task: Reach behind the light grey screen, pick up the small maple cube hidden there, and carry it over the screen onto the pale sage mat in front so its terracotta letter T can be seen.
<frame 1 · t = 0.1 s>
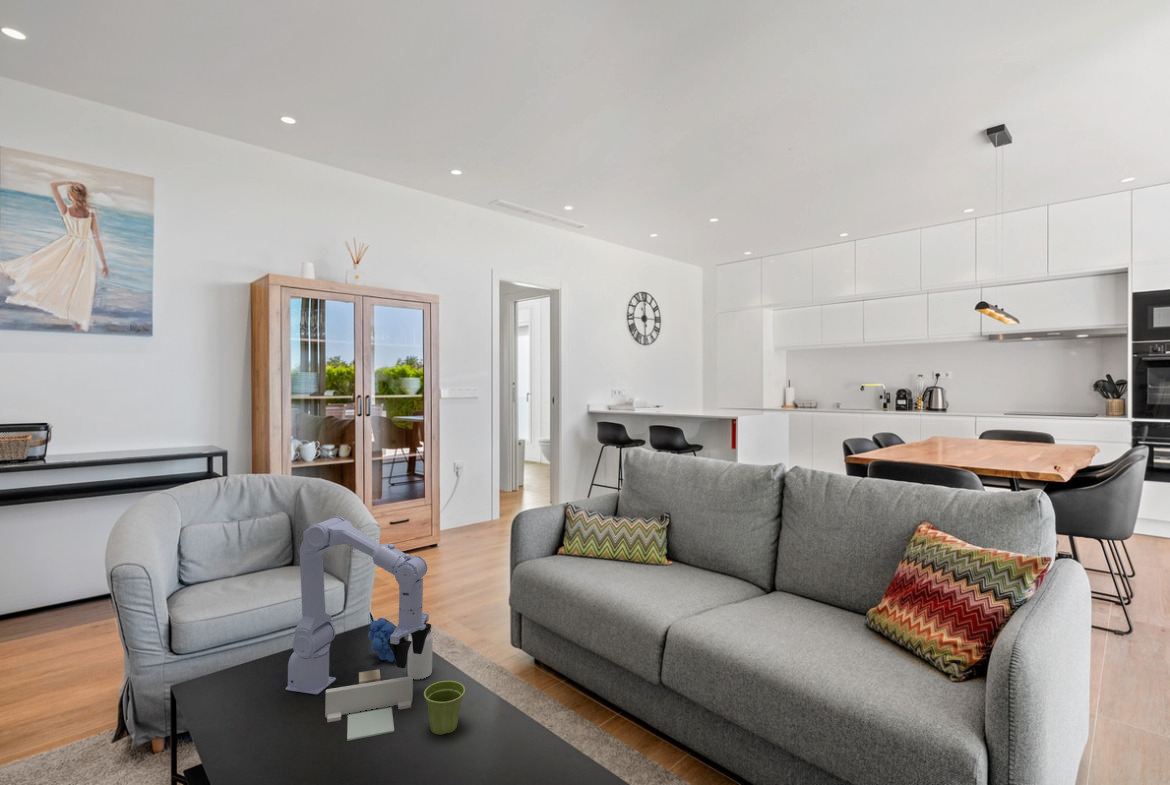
hand: (409, 660, 148), 10 cm above the table, tool pointing down, fingers open, 7 cm apart
plant pot: (444, 728, 136), on the table
can: (419, 675, 160), on the table
sage mat: (370, 724, 137), on the table
grey screen: (369, 708, 144), on the table
maple cube: (369, 694, 150), on the table
grapes: (381, 662, 167), on the table
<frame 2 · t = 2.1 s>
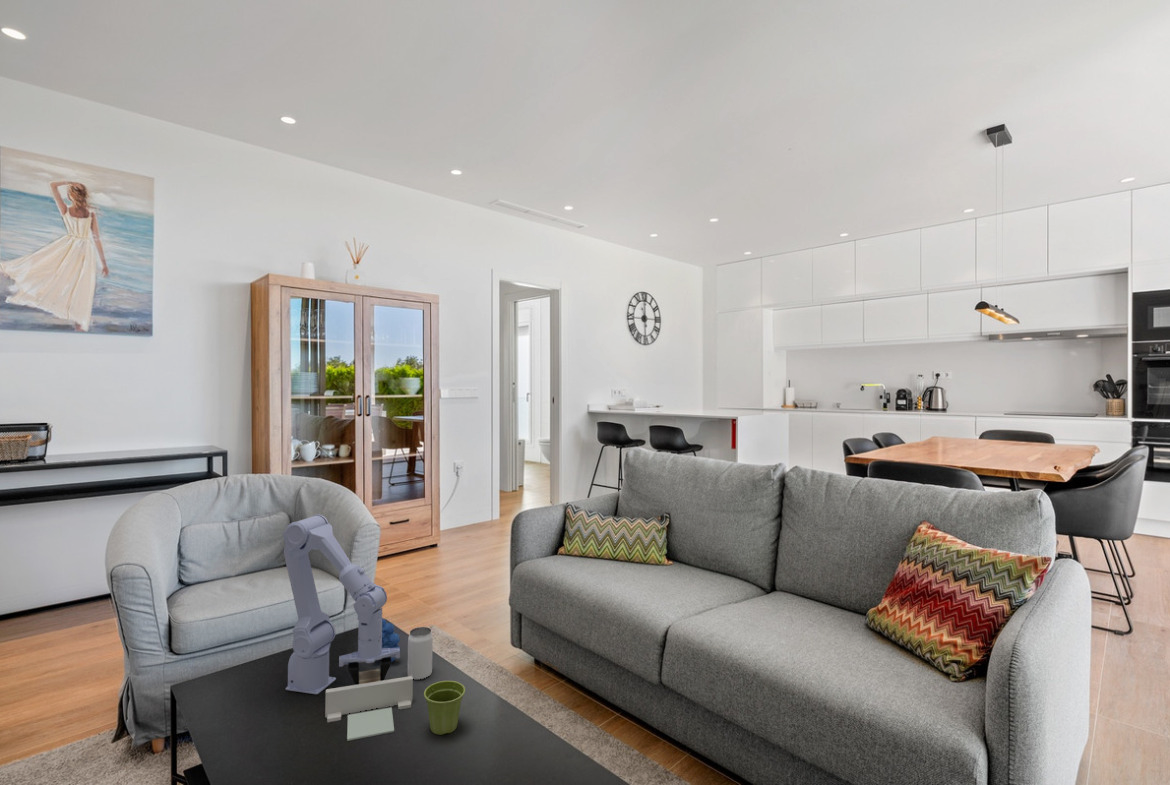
hand: (369, 688, 150), 1 cm above the table, tool pointing down, fingers closed on maple cube, 5 cm apart
maple cube: (369, 694, 150), on the table, touching gripper
everything else where it was.
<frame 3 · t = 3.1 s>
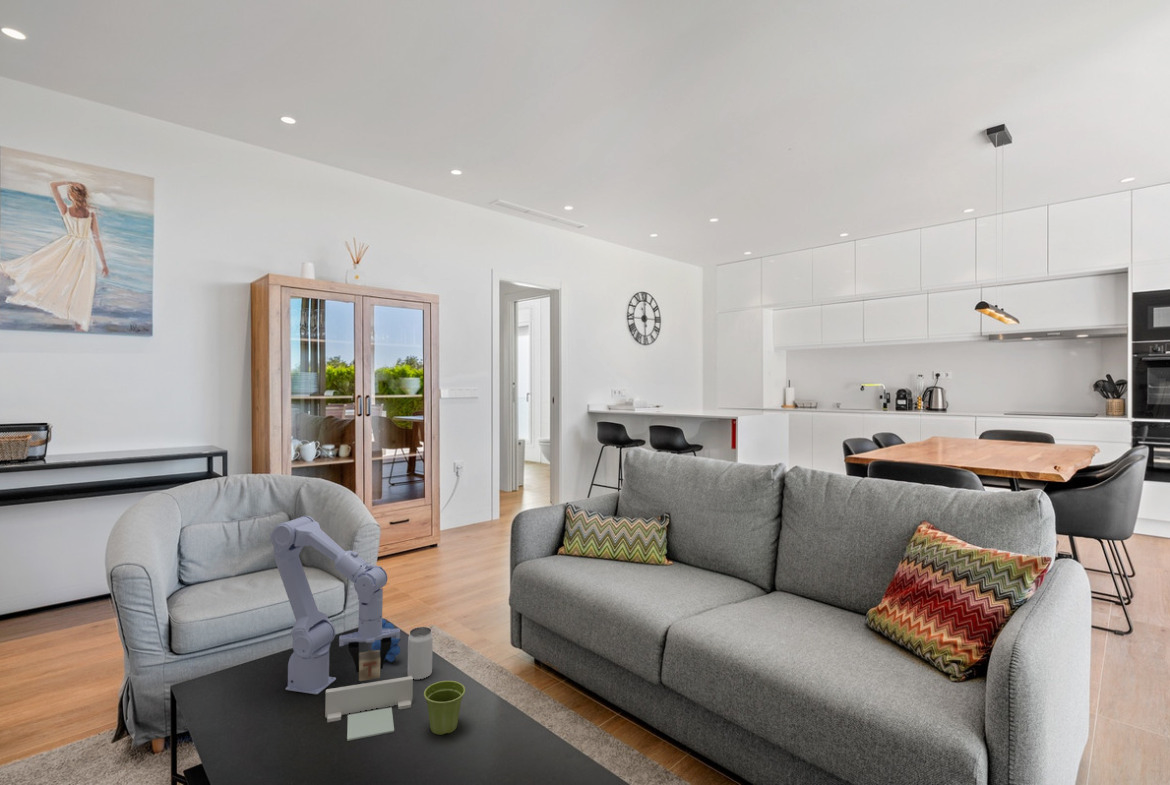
hand: (369, 668, 150), 7 cm above the table, tool pointing down, fingers closed on maple cube, 5 cm apart
maple cube: (369, 674, 150), point 5 cm above the table, touching gripper
everything else where it was.
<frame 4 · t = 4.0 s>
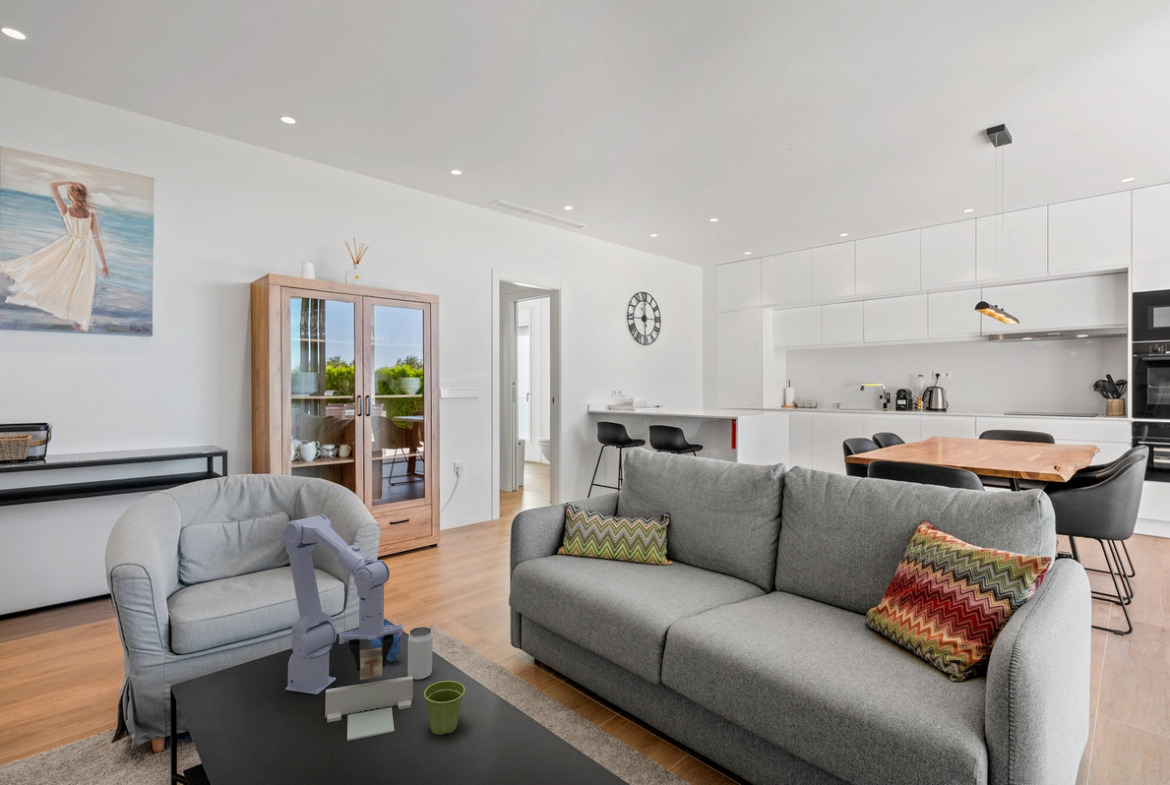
hand: (370, 667, 144), 10 cm above the table, tool pointing down, fingers closed on maple cube, 5 cm apart
maple cube: (370, 673, 144), point 8 cm above the table, touching gripper
everything else where it was.
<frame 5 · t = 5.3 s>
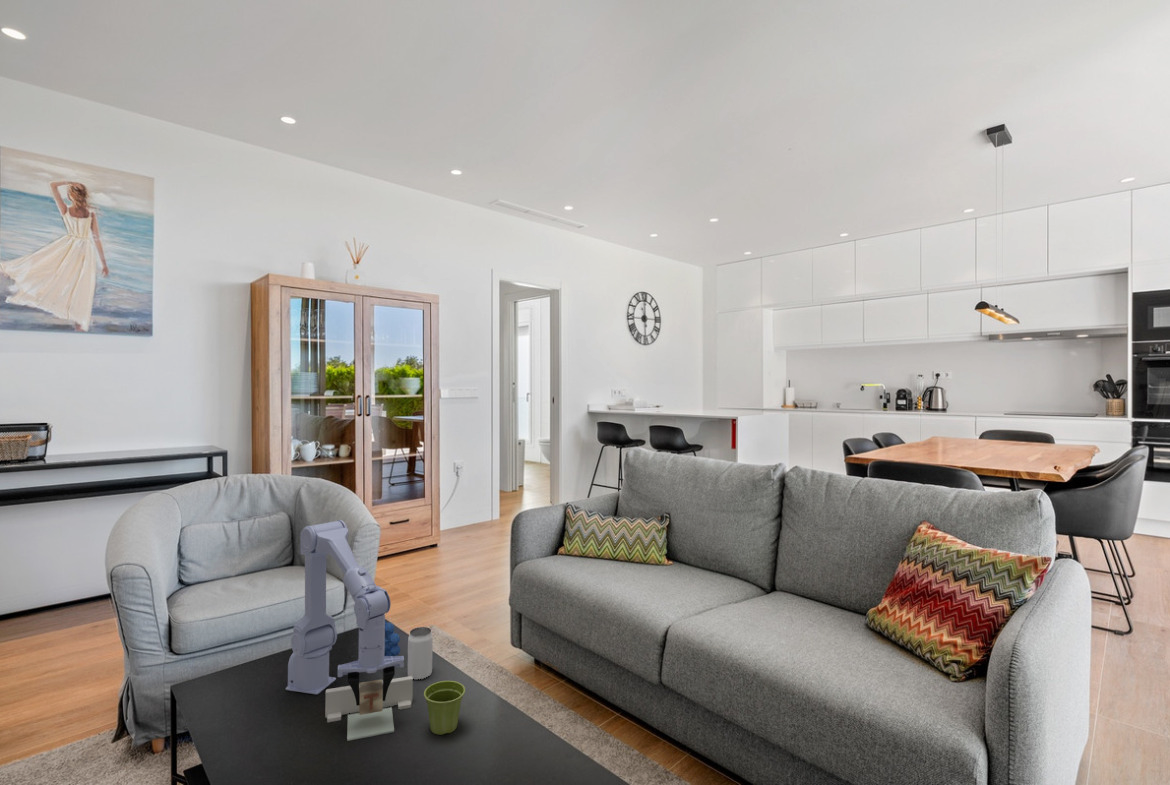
hand: (370, 701, 137), 5 cm above the table, tool pointing down, fingers closed on maple cube, 5 cm apart
maple cube: (370, 707, 137), point 4 cm above the table, touching gripper
everything else where it was.
when the fingers open (3 cm above the table, at t = 6.3 s): maple cube stays where it is, resting on sage mat.
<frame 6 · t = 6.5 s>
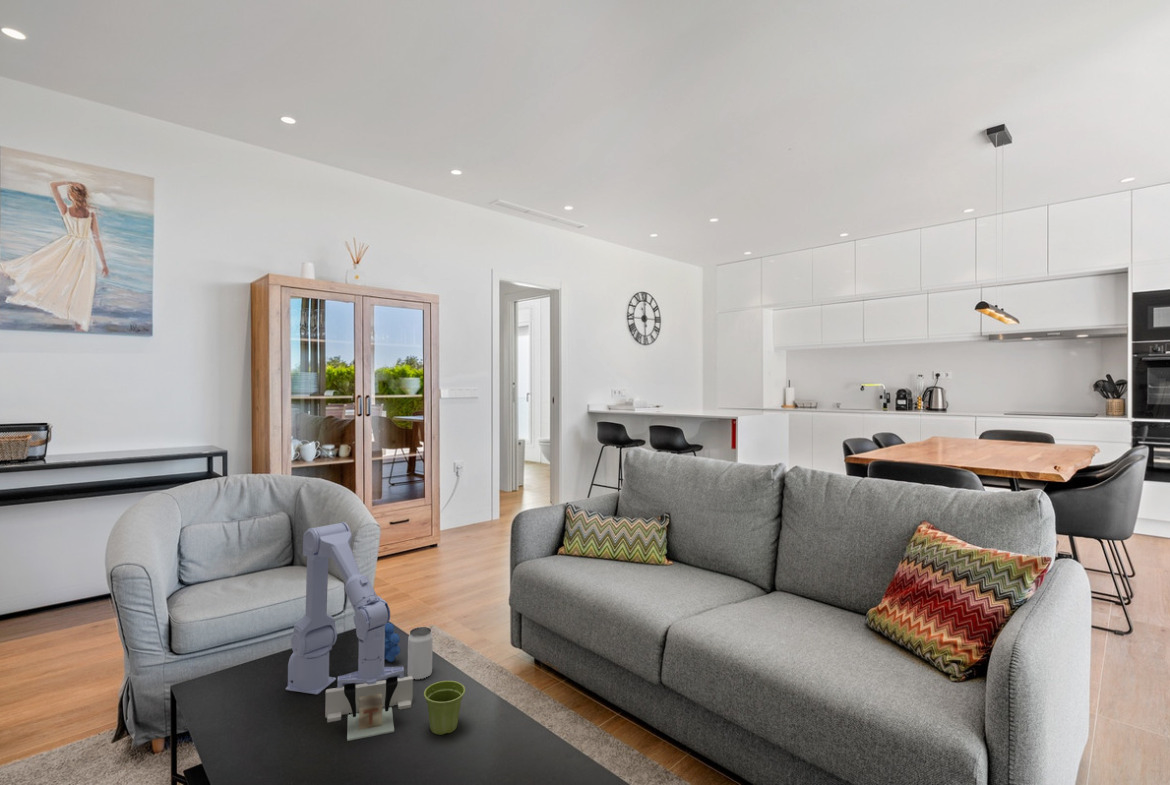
hand: (370, 711, 137), 3 cm above the table, tool pointing down, fingers open, 6 cm apart
maple cube: (370, 721, 137), resting on sage mat
everything else where it was.
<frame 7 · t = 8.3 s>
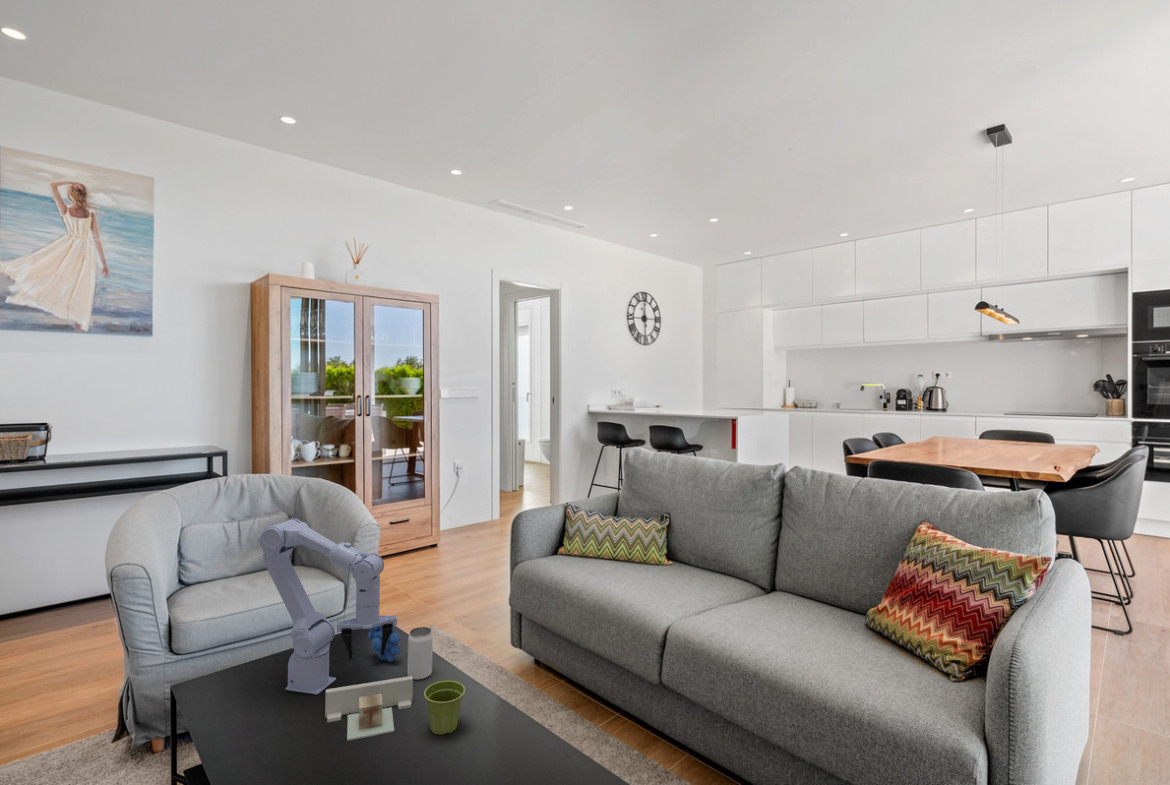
hand: (366, 655, 151), 9 cm above the table, tool pointing down, fingers open, 7 cm apart
nothing on the table moved.
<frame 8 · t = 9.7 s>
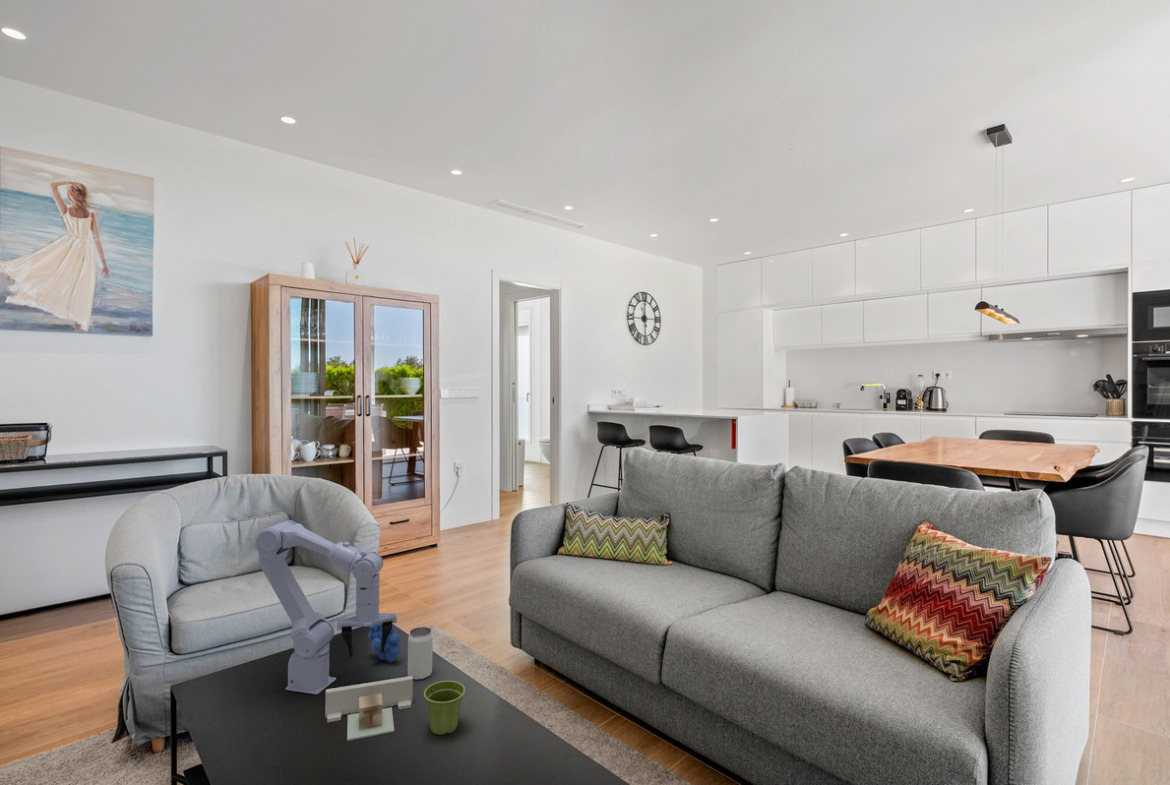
hand: (366, 652, 152), 9 cm above the table, tool pointing down, fingers open, 7 cm apart
nothing on the table moved.
at the end: maple cube 0.3 cm off-centre on the sage mat, point 0.4 cm above the sage mat's base; maple cube tilted 0°; the gripper is holding nothing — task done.
